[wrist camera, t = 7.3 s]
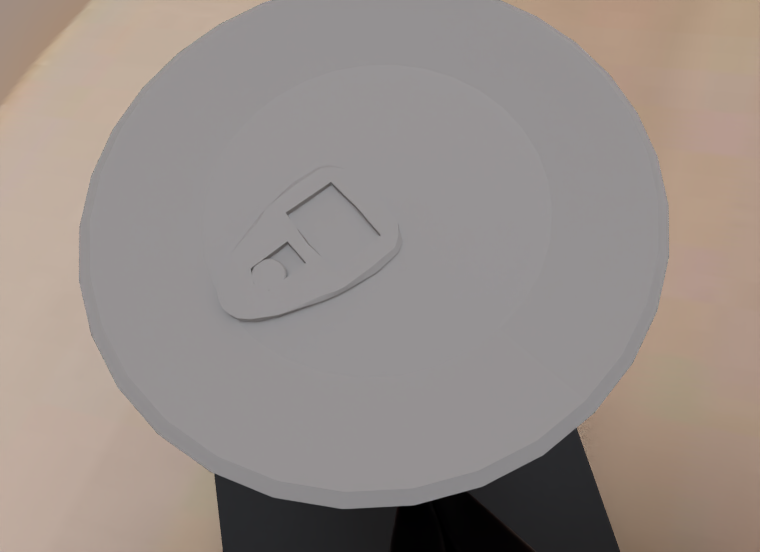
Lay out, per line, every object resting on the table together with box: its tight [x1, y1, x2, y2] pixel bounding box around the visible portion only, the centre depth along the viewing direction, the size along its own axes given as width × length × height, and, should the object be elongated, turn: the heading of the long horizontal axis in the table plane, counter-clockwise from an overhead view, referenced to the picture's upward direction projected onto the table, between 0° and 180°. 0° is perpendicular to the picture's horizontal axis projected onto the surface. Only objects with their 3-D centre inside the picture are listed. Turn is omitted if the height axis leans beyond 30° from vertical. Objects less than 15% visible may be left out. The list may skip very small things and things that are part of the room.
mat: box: [214, 428, 620, 552], centre depth 15 cm, size 13×12×1 cm
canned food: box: [79, 0, 669, 509], centre depth 11 cm, size 8×8×11 cm
